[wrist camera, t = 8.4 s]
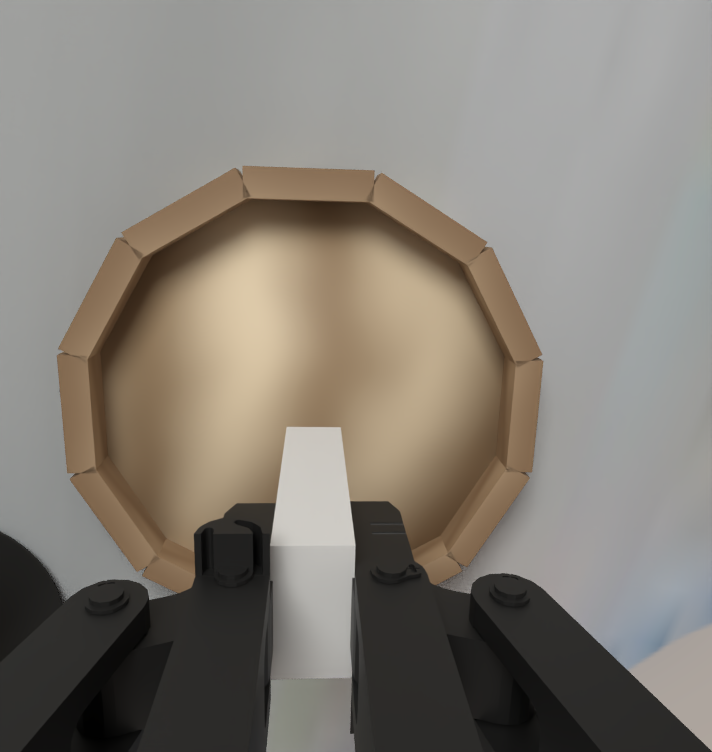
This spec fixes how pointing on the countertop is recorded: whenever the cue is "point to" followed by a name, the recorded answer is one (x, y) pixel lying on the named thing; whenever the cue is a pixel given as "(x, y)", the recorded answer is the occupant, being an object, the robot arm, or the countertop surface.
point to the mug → (22, 594)
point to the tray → (298, 364)
